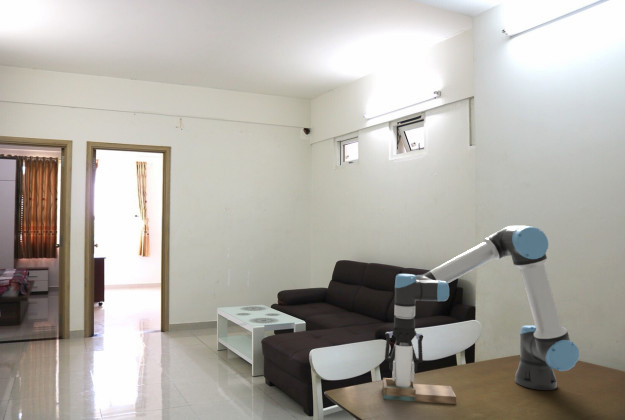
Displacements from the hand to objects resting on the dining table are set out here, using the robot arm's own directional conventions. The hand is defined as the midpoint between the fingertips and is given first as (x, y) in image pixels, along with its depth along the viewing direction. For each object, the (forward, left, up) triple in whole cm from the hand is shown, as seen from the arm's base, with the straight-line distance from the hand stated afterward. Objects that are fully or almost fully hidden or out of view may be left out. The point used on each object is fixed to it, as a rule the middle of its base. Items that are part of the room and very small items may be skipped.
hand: (403, 380), depth 178 cm
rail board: (-6, 0, -5) cm, 8 cm away
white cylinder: (0, 0, -2) cm, 2 cm away
